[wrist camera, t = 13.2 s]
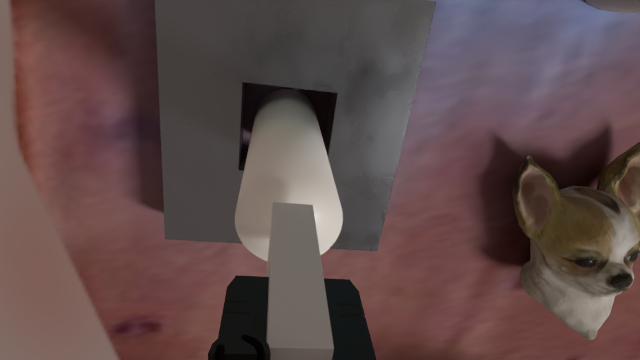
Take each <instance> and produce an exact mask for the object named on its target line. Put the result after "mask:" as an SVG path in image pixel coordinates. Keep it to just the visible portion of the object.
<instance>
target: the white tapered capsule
mask: <svg viewBox="0 0 640 360" xmlns="http://www.w3.org/2000/svg"><path fill="white" fill-rule="evenodd" d="M273 202H281V203H295V204H309V205H313V210H314V216H315V223H316V230H317V237H318V243H319V250H320V255H322V254H323V253H325V252H326V251H327V250H328V249H329V248H330V247H331V246H332V245H333V244H334V242H335V241H336V239H337V238H338V236H339V234H340V231H341V228H342V223H343V212H342V207H341V204H340V200H339V196H338V193H337V189H336V185H335V182H334V178H333V175H332V171H331V167H330V164H329V160H328V156H327V153H326V149H325V145H324V142H323V138H322V135H321V131H320V127H319V124H318V120H317V116H316V113H315V109H314V107H313V105H312V103H311V102H310V100H309V99H308V98H307V97H306V96H304V95H303V94H301V93H300V92H298V91H295V90H290V89H280V90H276V91H273V92H271V93H269V94H268V95H267V96H265V97H264V98H263V99H262V101H261V102H260V104H259V105H258V108H257V111H256V115H255V120H254V125H253V129H252V134H251V139H250V144H249V149H248V154H247V158H246V163H245V168H244V173H243V178H242V183H241V187H240V192H239V197H238V202H237V207H236V212H235V227H236V231H237V234H238V236H239V238H240V240H241V242H242V243H243V245H244V246H245V247H246V248H247V249H248V250H249V251H250V252H251V253H253V254H254V255H256V256H257V257H259V258H261V259H263V260H265V261H267V260H268V249H269V238H270V227H271V217H272V206H273Z"/></svg>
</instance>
